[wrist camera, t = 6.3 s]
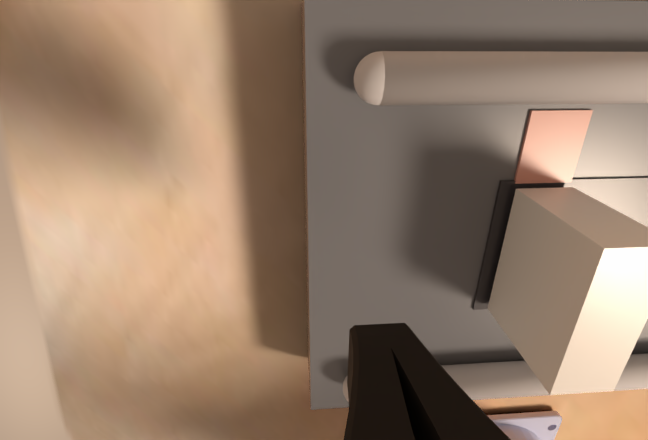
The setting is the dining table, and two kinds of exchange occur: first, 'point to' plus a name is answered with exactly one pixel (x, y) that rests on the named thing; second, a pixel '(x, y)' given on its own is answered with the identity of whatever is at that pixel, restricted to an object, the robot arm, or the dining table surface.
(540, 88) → the pair of cream rails
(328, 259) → the box
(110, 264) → the dining table surface
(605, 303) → the lever
